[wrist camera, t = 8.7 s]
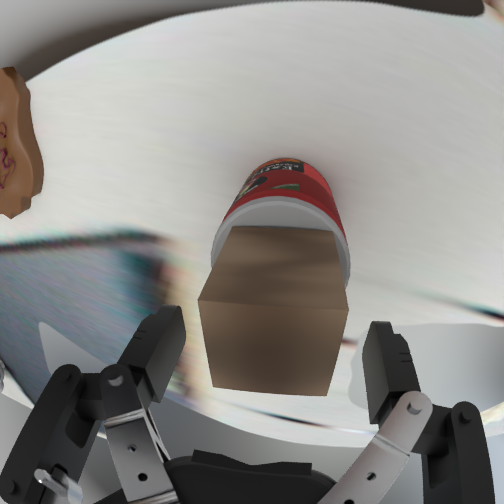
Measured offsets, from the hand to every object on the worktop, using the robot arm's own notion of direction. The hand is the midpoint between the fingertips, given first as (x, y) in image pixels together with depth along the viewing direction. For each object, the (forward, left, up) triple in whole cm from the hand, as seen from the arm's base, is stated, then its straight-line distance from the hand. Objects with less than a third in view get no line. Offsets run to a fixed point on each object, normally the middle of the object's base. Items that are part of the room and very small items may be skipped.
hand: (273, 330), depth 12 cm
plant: (+37, -8, -16) cm, 41 cm away
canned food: (0, 0, -16) cm, 16 cm away
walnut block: (0, 0, -5) cm, 4 cm away
